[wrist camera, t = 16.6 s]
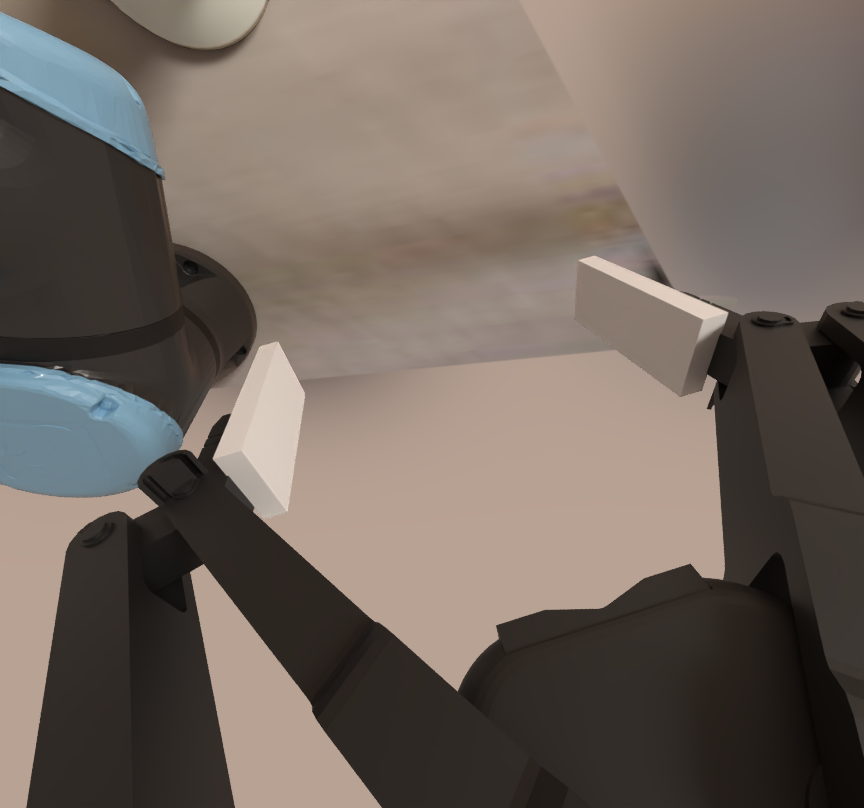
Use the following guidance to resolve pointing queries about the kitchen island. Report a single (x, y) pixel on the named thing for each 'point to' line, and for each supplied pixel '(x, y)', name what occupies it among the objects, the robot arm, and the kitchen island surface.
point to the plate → (196, 20)
